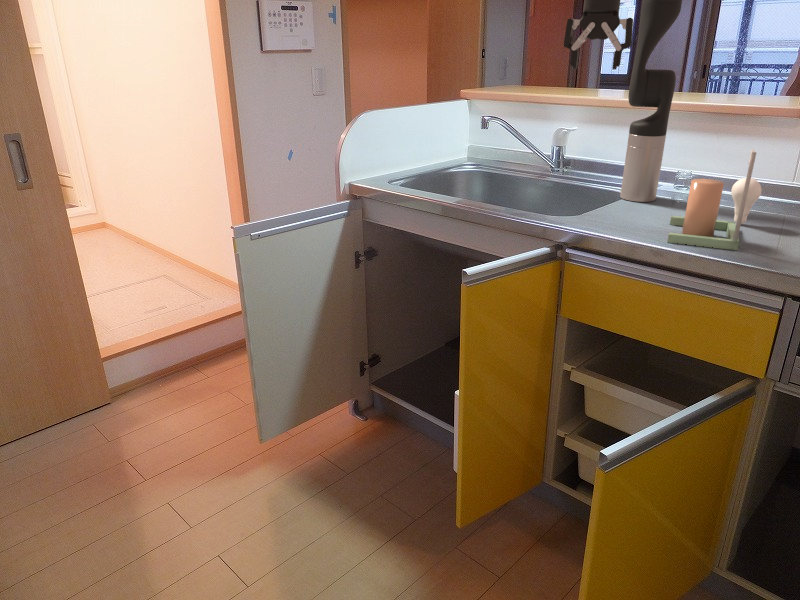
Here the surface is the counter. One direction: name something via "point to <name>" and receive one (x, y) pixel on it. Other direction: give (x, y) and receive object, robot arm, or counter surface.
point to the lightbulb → (751, 198)
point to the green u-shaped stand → (729, 226)
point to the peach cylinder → (702, 207)
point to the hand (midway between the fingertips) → (594, 69)
